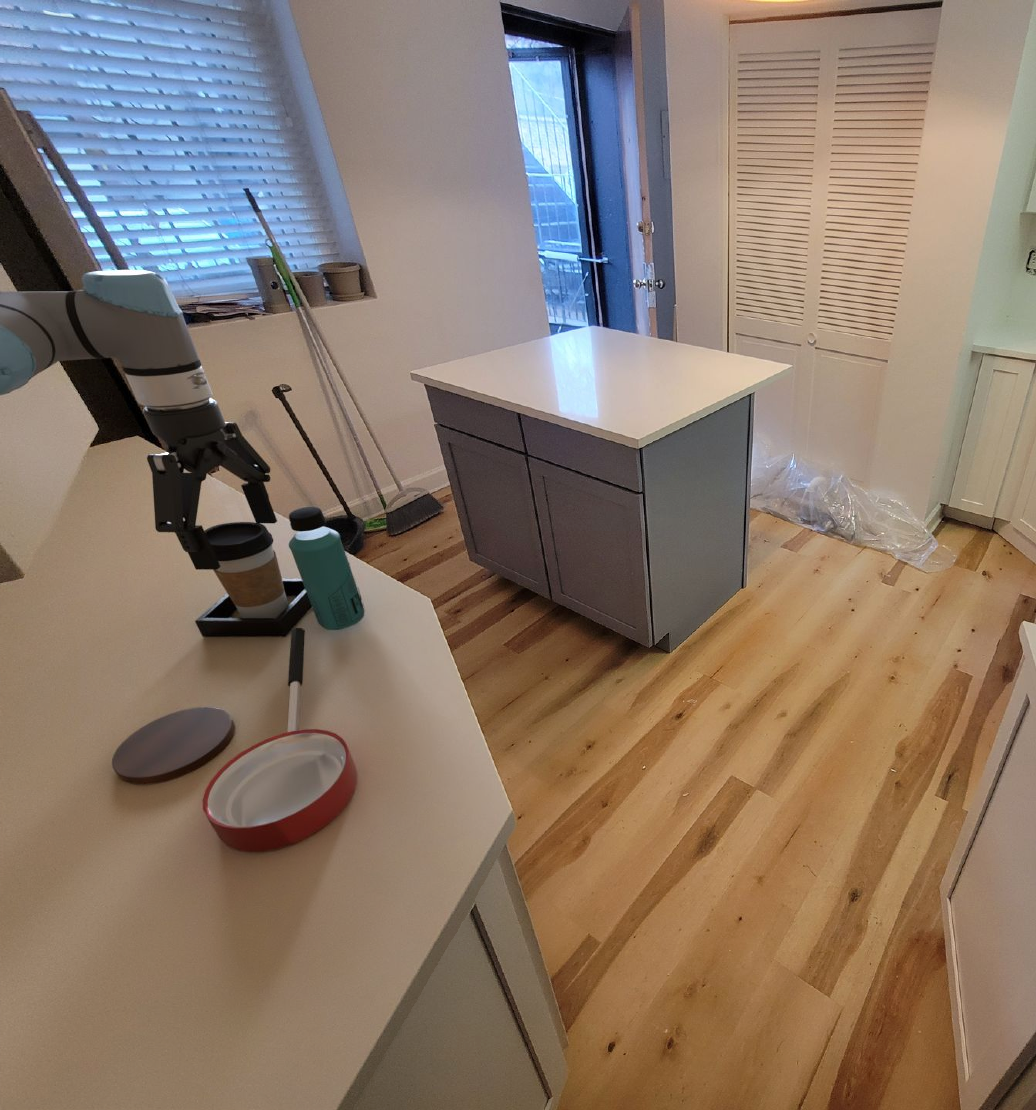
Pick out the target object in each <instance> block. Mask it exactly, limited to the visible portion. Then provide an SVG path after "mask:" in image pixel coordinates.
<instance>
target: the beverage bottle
mask: <svg viewBox="0 0 1036 1110" xmlns="http://www.w3.org/2000/svg"><path fill="white" fill-rule="evenodd" d="M288 519H289V523H290V529H291V530H293V531H294V532H296V533H295V534H294V535H293V536H292V537H291V539H289V542H288V549H290V551H291V555H292V557H293V559H294V563H295V565H296V567H297V570H298V572H299V575H300V579H301V580H302V581H303V584H304V587H305V589H304V590H306V593H307V595H308V601H309V600H310V601H309V602H310V603H311V607H312V608H311V609H310V610H312V611H313V616H314V617H315V619H316V622H317V624H318V625H320V627H321V628H323V629H325V630H328V631H336V630H337V631H339V630H343V629H347V628H350V627H352V626H354V625H357V624H358V623H360V621H362V620H363V619H364V617H365V609H366V608H365V605H364V603H363V599H362V595H361V592H360V588H359V587H358V585H357V584H358V583H357V581H356V578H355V576H354V574H353V571H352V568H351V564H350V561H349V559H348V555H347V553H346V550H345V548H344V545H343V542H342V540H341V534H340V533H339V532H338V531H336V530H335V529H333V528H330V527H327V526H325V525H326V524H327V520H326V517H325V515H324V514H323V510H322V509H321V508H320V507H316V506H305V507H299V508H297V509H295V510H292V511H291V512H290V513H289V514H288ZM302 581H301V582H302Z"/></svg>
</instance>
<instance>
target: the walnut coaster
mask: <svg viewBox="0 0 1036 1110" xmlns="http://www.w3.org/2000/svg"><path fill="white" fill-rule="evenodd" d="M235 730H236V727H235V722H234V720H233V718H232V717H231V715H230V714H229V713H228V712H227V711H225V710H224V709H221V708H218V707H213V706H199V707H190V708H187V709H181V710H177V711H175V712H171V713H169V714H166V715H164V716H162V717H159V718H157V719H155V720H153V721H151V722H149V723H147V724H145V725H143V726H141V727H140V728H139V729H138V730H136V731H135V732H133V733H131V735H129V736H128V737H126V738H125V740H124V741H123V742H121V744H120V745H119V746H118V747H117V749H115V752H114V754H113V756H112V760H111V766H112V769H113V771H114V772H115V774H116V775H117V777H118V778H119V779H120V780H122V781H123V782H125V783H129V784H130V785H131V784H133V785H152V784H159V783H164V782H168V781H171V780H174V779H177V778H180V777H182V776H185V775H187V774H189V773H192V772H194V771H196V770H197V769H199V768H202V767H203V766H204V765H206V764H207V763H209V762H211V761H212V760H213V759H214V758H216V757H217V756H218V755H220V754H221V753H222V752H223V751H224V750H225V749H226V748H227V746H228V745H229V744H230V743H231V741H232V739H233V737H234V734H235Z"/></svg>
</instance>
